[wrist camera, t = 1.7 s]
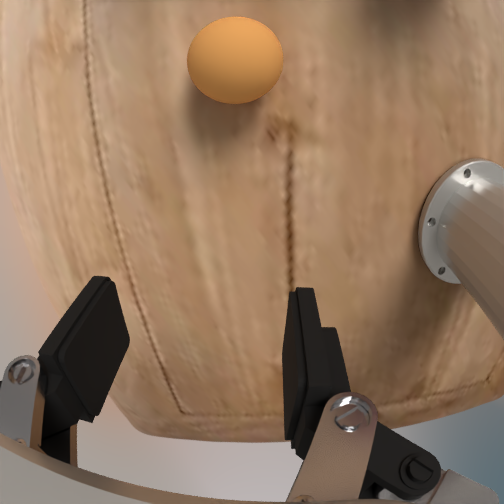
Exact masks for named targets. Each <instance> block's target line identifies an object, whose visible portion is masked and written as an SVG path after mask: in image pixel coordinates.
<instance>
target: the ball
mask: <svg viewBox="0 0 504 504" xmlns="http://www.w3.org/2000/svg"><path fill="white" fill-rule="evenodd" d="M187 66H188V71H189V74H190V77H191V79H192V81H193V83H194V84H195V85H196V87H197V88H198V89H199V90H200V91H201V92H202V93H203V94H205V95H206V96H208V97H209V98H211V99H214V100H216V101H219V102H222V103H228V104H241V103H247V102H250V101H253V100H256V99H258V98H260V97H261V96H263V95H265V94H266V93H267V92H268V91H269V90H270V89H271V88H272V87H273V86H274V85H275V84H276V82H277V81H278V79H279V77H280V74H281V72H282V68H283V52H282V48H281V45H280V43H279V41H278V39H277V37H276V36H275V34H274V33H273V32H272V31H271V30H270V29H269V28H267V27H266V26H265V25H263V24H262V23H260V22H258V21H256V20H253V19H250V18H245V17H227V18H222V19H219V20H216V21H214V22H212V23H210V24H209V25H207V26H206V27H204V28H203V29H202V30H201V31H200V32H199V33H198V34H197V35H196V37H195V38H194V39H193V41H192V43H191V45H190V48H189V51H188V56H187Z"/></svg>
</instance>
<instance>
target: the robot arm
mask: <svg viewBox="0 0 504 504" xmlns="http://www.w3.org/2000/svg"><path fill="white" fill-rule="evenodd" d="M418 242H419V248H420V252H421V256H422V258H423V260H424V262H425V264H426V265H427V266H428V268H429V269H430V271H431V272H432V273H433V274H434V275H435V276H436V277H437V278H439V279H441V280H443V281H445V282H448V283H453V284H463V286H464V287H465V288H466V289H467V291H468V292H469V293H470V294H471V296H472V297H473V298H474V300H475V301H476V302H477V304H478V305H479V306H480V308H481V309H482V310H483V312H484V313H485V314H486V316H487V317H488V318H489V320H490V321H491V323H492V324H493V325H494V327H495V328H496V330H497V331H498V333H499V334H500V335H501V337H502V338H503V340H504V169H503V168H502V167H501V166H500V165H498V164H496V163H494V162H492V161H489V160H485V159H469V160H465V161H462V162H460V163H458V164H457V165H455V166H453V167H452V168H450V169H449V170H448V171H447V172H446V173H444V174H443V175H442V177H441V178H440V179H439V180H438V181H437V182H436V184H435V185H434V187H433V188H432V190H431V192H430V193H429V195H428V197H427V199H426V202H425V204H424V206H423V209H422V213H421V217H420V220H419V229H418ZM129 343H130V337H129V334H128V330H127V327H126V323H125V320H124V316H123V313H122V309H121V305H120V301H119V297H118V294H117V290H116V285H115V283H114V282H113V281H111V279H110V278H109V277H104V276H93V277H92V278H91V280H90V281H89V282H88V284H87V285H86V286H85V287H84V289H83V290H82V291H81V293H80V294H79V295H78V297H77V298H76V299H75V301H74V302H73V303H72V305H71V306H70V307H69V309H68V310H67V311H66V313H65V314H64V316H63V317H62V318H61V320H60V321H59V323H58V324H57V325H56V327H55V328H54V330H53V331H52V333H51V334H50V335H49V337H48V338H47V340H46V341H45V343H44V344H43V346H42V347H41V349H40V350H39V352H38V353H39V357H38V358H37V359H36V358H35V357H32V356H29V355H25V356H20V357H17V358H15V359H14V360H13V361H11V362H10V363H9V365H8V366H7V368H6V370H5V373H4V376H3V380H2V381H0V504H499V498H498V496H497V494H496V493H495V492H494V491H493V490H492V489H490V488H488V487H485V486H483V485H481V484H479V483H476V482H475V481H473V480H471V479H469V478H466V477H464V476H462V475H460V474H458V473H456V472H454V471H452V470H450V469H448V470H447V471H444V470H443V469H441V467H440V464H439V462H438V461H437V459H436V457H435V456H433V455H432V454H431V453H430V452H428V451H426V450H424V449H423V448H421V447H419V446H417V445H416V444H414V443H412V442H411V441H409V440H407V439H405V438H404V437H402V436H400V435H399V434H397V433H395V432H394V431H392V430H391V429H389V428H387V427H386V426H384V425H383V424H381V423H379V422H378V421H377V420H378V412H377V410H376V407H375V405H374V404H373V403H372V401H371V400H370V399H368V398H367V397H365V396H364V395H361V394H358V393H354V392H351V390H350V386H349V381H348V376H347V372H346V367H345V363H344V359H343V354H342V350H341V346H340V342H339V337H338V333H337V330H336V328H335V327H321V323H320V318H319V313H318V308H317V303H316V298H315V293H314V289H313V288H302V287H296V290H295V292H289V300H288V309H287V317H286V325H285V334H284V342H283V350H282V367H283V396H284V431H285V440H291V448H292V449H295V450H296V455H298V456H299V457H300V458H301V459H303V462H302V465H301V468H300V470H299V472H298V475H297V477H296V479H295V482H294V484H293V486H292V488H291V491H290V493H289V495H288V498H287V500H286V502H257V501H237V500H236V501H235V500H224V499H214V498H205V497H198V496H191V495H184V494H178V493H172V492H167V491H162V490H157V489H151V488H147V487H143V486H138V485H134V484H130V483H126V482H123V481H119V480H115V479H112V478H108V477H105V476H102V475H99V474H96V473H92V472H89V471H87V470H83V469H81V468H78V466H77V423H78V421H79V419H80V420H84V421H88V422H91V423H92V422H93V420H94V417H95V416H98V415H99V414H100V412H101V409H102V407H103V404H104V402H105V399H106V397H107V395H108V392H109V390H110V388H111V385H112V383H113V380H114V378H115V376H116V374H117V371H118V369H119V367H120V364H121V362H122V360H123V358H124V355H125V353H126V351H127V349H128V347H129Z"/></svg>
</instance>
